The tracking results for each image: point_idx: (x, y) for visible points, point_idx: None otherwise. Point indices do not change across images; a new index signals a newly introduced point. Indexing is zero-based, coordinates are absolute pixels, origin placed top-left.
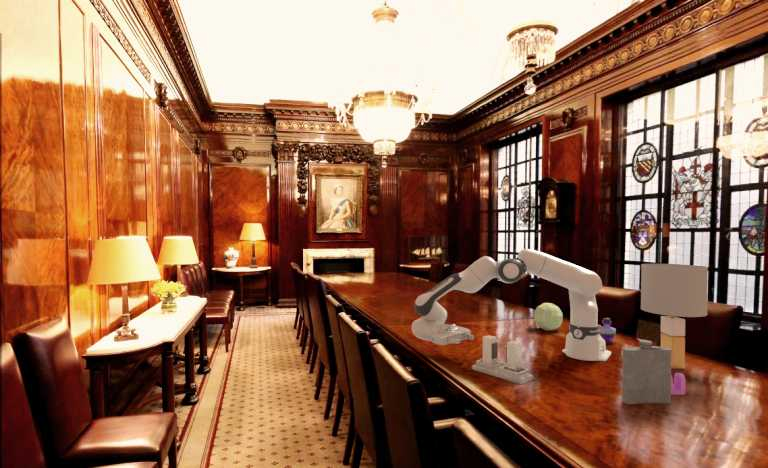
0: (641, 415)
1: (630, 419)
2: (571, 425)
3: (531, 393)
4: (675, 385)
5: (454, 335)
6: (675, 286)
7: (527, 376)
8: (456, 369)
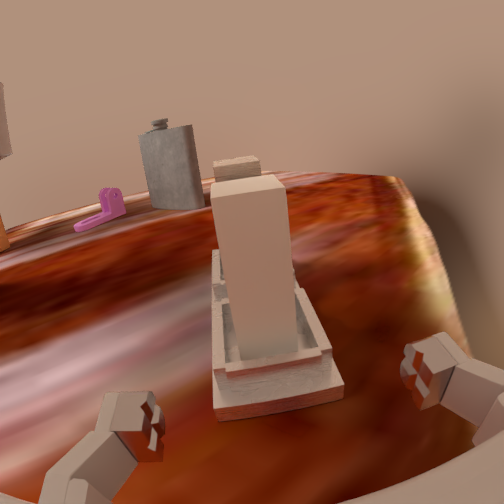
0: None
1: None
2: (343, 192)
3: (307, 235)
4: (106, 208)
5: (417, 476)
6: (3, 109)
7: None
8: (429, 421)
